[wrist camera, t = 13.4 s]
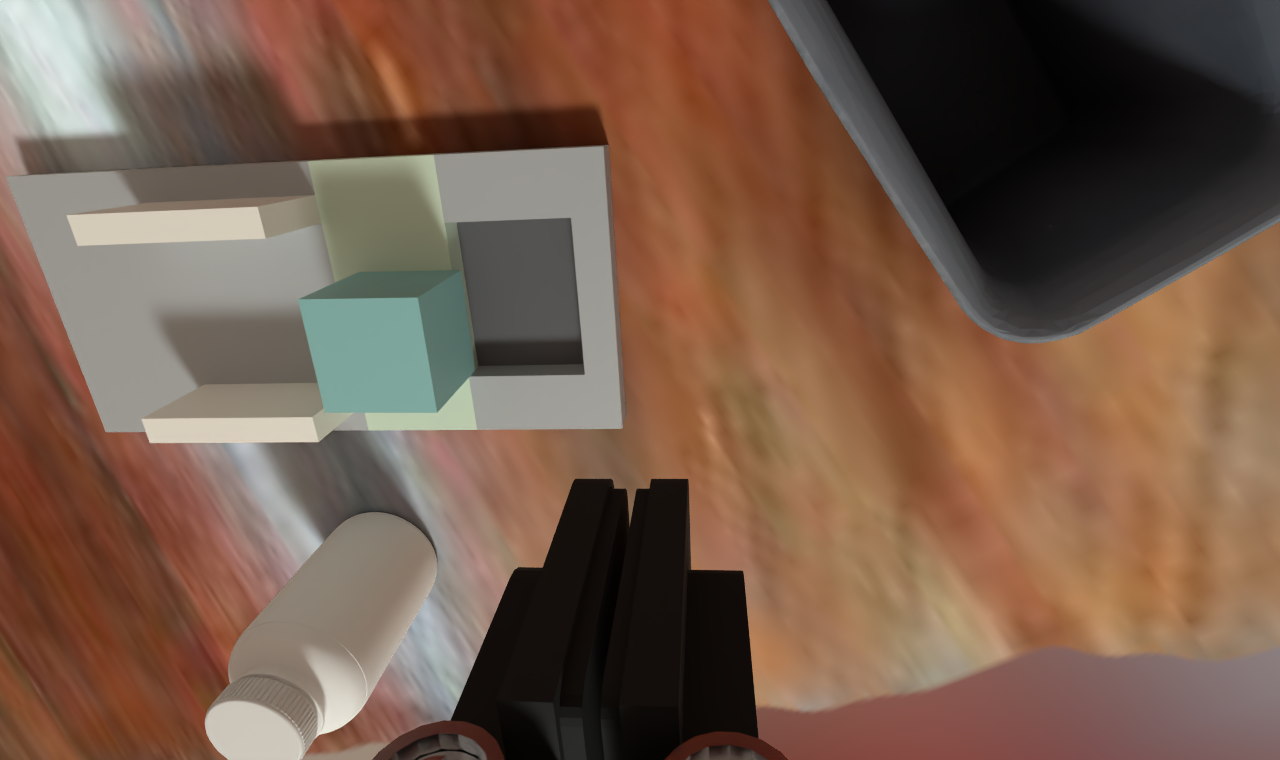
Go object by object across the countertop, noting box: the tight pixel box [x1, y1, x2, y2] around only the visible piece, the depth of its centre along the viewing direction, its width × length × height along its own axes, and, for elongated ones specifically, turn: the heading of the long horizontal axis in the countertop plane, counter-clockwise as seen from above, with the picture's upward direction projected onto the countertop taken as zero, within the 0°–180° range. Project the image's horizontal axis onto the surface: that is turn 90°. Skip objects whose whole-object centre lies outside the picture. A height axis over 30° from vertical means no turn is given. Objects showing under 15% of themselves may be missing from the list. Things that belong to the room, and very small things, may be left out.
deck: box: [6, 145, 626, 443], centre depth 37 cm, size 16×34×7 cm, turn 93°
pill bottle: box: [205, 512, 437, 760], centre depth 40 cm, size 8×8×15 cm
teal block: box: [298, 270, 475, 413], centre depth 35 cm, size 6×6×6 cm
